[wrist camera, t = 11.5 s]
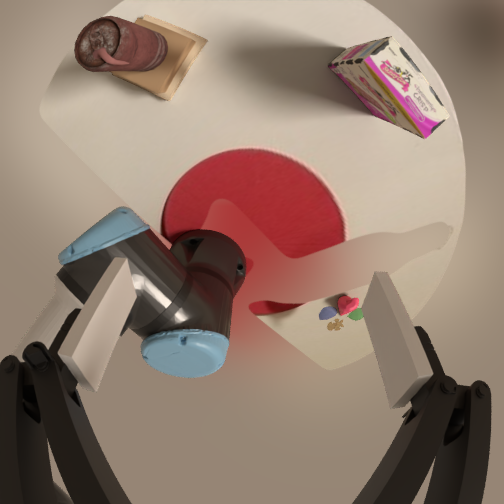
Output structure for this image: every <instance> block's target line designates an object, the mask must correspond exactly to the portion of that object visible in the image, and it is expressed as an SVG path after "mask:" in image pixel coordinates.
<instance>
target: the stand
mask: <svg viewBox="0 0 504 504" xmlns="http://www.w3.org/2000/svg"><path fill="white" fill-rule="evenodd" d="M135 24H138V25H140V26H143V27H146V28H148V29H151V30H153V31H156V32H158V33H160V34H161V35H163V36H164V37H165V39H166V41H167V44H168V52H167V55H166V57H165V59H164V61H163V62H162V63H161V64H160V65H159V66H158V67H156V68H155V69H153V70H150V71H109V72H111V73H112V75H114V76H116V77H118V78H121V79H123V80H125V81H127V82H130V83H132V84H134V85H136V86H138V87H140V88H143V89H145V90H147V91H149V92H151V93H153V94H155V95H157V96H159V97H161V98H163V99H165V100H167V101H170V100H171V99H172V97H173V95H174V94H175V92H176V90H177V88H178V87H179V85H180V83H181V82H182V80H183V78H184V77H185V75H186V73H187V72H188V70H189V69H190V67H191V65H192V64H193V62H194V61H195V59H196V57H197V56H198V54H199V53H200V51H201V50H202V48H203V47H204V45H205V44H206V42H207V41H208V40H206V39H205V38H202V37H200V36H198V35H196V34H194V33H191V32H189V31H187V30H184V29H182V28H180V27H177V26H175V25H172V24H170V23H167V22H165V21H162V20H159V19H157V18H154V17H151V16H148V15H145V16H144V17H143V19H140V18H137V20H136V22H135Z"/></svg>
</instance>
